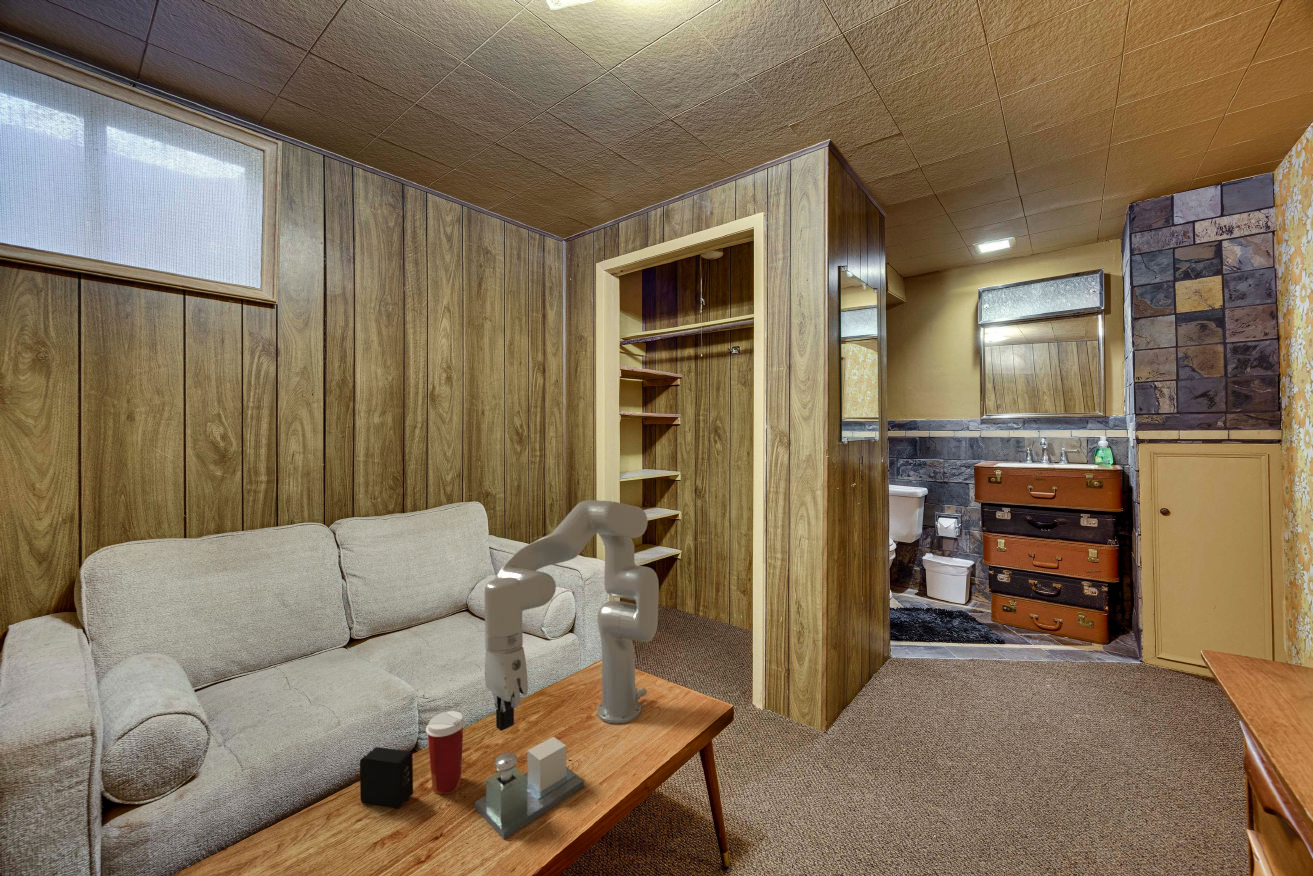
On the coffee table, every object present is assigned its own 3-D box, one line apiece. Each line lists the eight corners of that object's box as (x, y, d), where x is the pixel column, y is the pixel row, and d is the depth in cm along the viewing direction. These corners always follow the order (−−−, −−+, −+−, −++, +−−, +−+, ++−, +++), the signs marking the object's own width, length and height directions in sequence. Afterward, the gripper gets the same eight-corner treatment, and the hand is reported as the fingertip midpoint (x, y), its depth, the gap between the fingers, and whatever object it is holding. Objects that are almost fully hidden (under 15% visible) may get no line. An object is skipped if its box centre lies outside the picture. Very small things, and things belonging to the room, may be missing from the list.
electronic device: (400, 810, 107) (399, 763, 107) (360, 803, 109) (359, 758, 109) (413, 796, 111) (412, 751, 111) (374, 790, 113) (373, 746, 113)
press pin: (510, 777, 108) (510, 750, 108) (521, 787, 105) (521, 759, 105) (491, 788, 105) (491, 760, 105) (502, 798, 102) (501, 769, 102)
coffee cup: (473, 776, 117) (472, 713, 117) (448, 801, 109) (447, 733, 109) (444, 769, 120) (443, 707, 120) (418, 792, 112) (416, 726, 112)
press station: (553, 763, 122) (553, 730, 122) (584, 786, 113) (583, 751, 113) (475, 808, 107) (474, 771, 107) (504, 839, 99) (503, 799, 99)
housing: (553, 766, 118) (553, 736, 118) (566, 775, 115) (565, 745, 115) (527, 781, 113) (527, 750, 113) (540, 791, 110) (539, 760, 110)
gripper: (539, 643, 102) (540, 733, 102) (502, 625, 112) (503, 706, 113) (506, 655, 97) (507, 750, 97) (470, 635, 107) (471, 720, 107)
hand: (505, 726), depth 105 cm, fingers closed
